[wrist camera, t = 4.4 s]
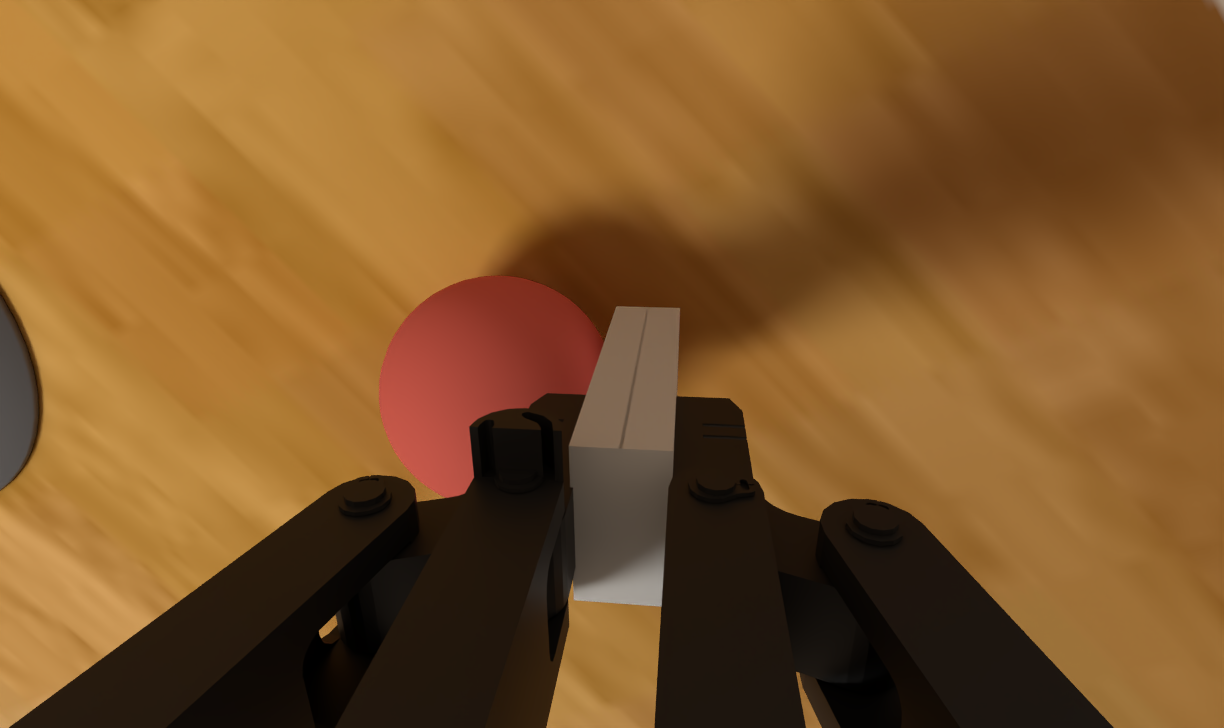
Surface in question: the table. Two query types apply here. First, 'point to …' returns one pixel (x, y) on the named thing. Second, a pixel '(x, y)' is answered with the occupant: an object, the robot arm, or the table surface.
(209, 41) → the table surface
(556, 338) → the ball
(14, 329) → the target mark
